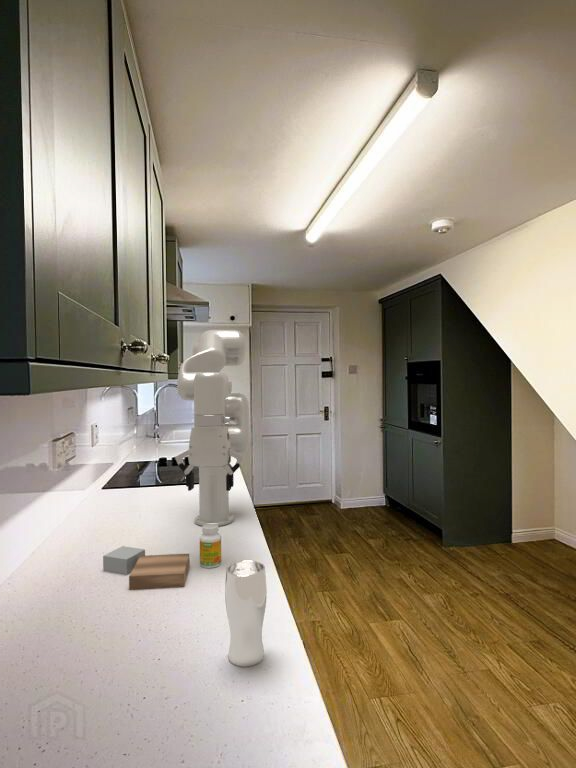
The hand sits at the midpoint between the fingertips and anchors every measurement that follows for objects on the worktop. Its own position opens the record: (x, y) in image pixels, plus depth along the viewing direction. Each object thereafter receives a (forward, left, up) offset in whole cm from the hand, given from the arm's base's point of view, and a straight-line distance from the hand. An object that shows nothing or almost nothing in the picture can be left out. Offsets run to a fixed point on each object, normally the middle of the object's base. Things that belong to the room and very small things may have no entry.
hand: (209, 489), depth 117 cm
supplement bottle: (0, 0, -19) cm, 19 cm away
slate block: (+3, -21, -19) cm, 29 cm away
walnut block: (+8, -10, -19) cm, 23 cm away
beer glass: (+38, +15, -19) cm, 45 cm away
